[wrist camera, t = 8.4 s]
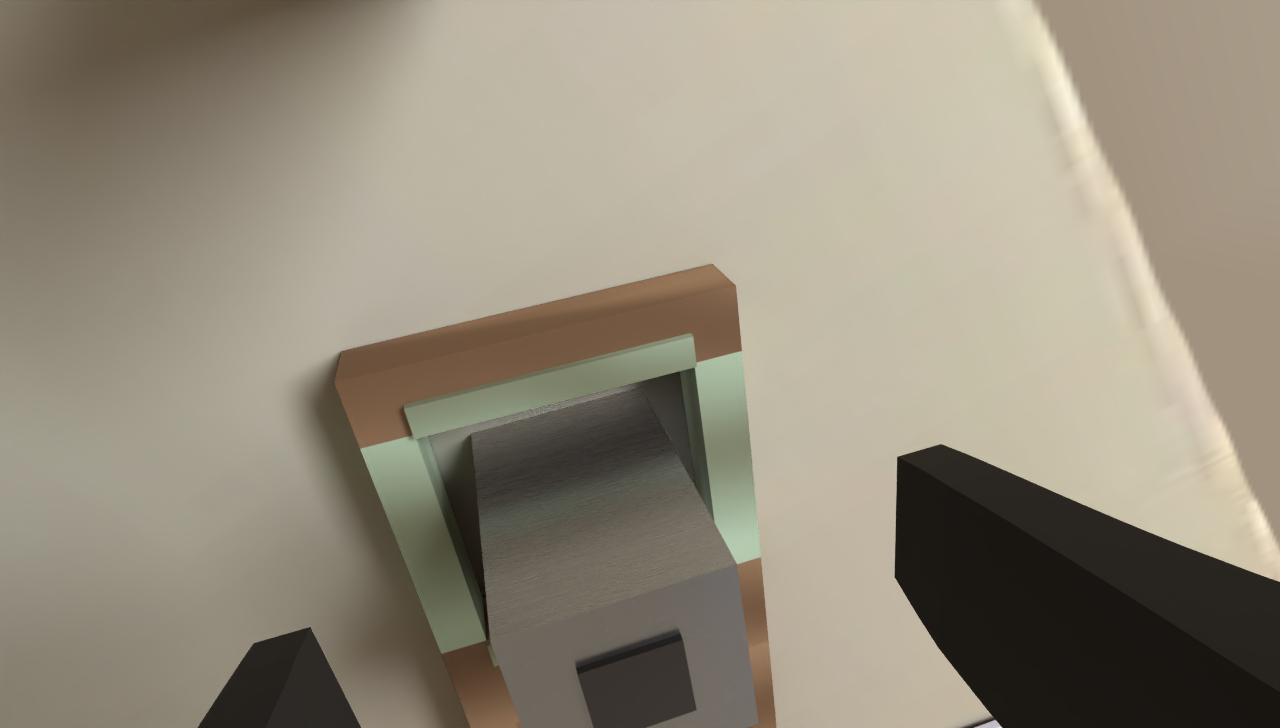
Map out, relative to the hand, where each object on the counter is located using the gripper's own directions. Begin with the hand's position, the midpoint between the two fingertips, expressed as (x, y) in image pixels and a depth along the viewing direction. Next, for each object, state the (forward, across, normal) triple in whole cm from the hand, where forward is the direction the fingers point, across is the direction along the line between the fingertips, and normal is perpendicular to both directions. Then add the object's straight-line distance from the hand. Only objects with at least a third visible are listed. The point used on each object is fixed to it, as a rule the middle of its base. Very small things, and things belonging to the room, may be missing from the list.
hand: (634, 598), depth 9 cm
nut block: (+10, 0, +5) cm, 11 cm away
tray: (+10, 0, +10) cm, 14 cm away
